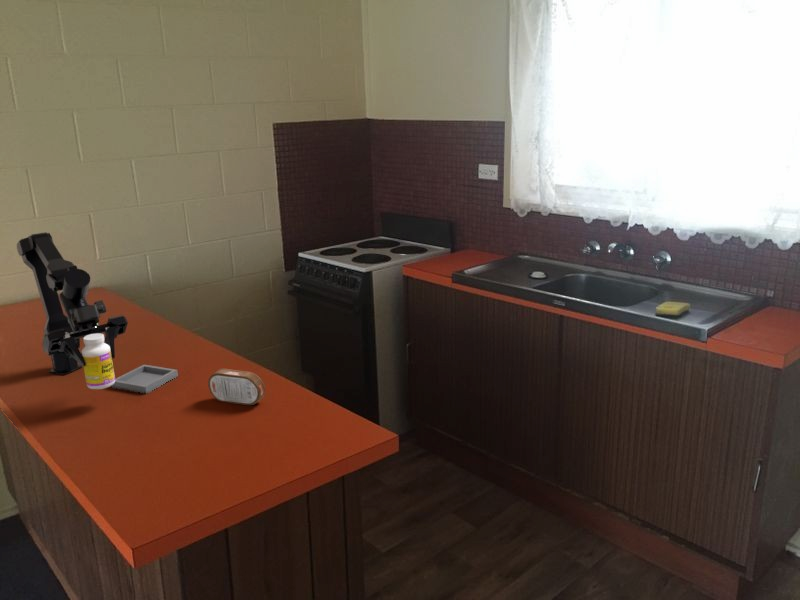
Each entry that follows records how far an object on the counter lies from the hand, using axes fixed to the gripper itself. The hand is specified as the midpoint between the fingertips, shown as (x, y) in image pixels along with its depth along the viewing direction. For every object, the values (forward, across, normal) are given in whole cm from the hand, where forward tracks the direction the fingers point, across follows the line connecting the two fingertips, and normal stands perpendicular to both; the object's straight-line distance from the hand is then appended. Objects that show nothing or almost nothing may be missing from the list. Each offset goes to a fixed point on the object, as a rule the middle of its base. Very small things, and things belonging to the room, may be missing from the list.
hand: (99, 361), depth 167 cm
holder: (+3, +13, +15) cm, 20 cm away
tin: (+24, +25, -7) cm, 35 cm away
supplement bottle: (+4, 0, +6) cm, 7 cm away
